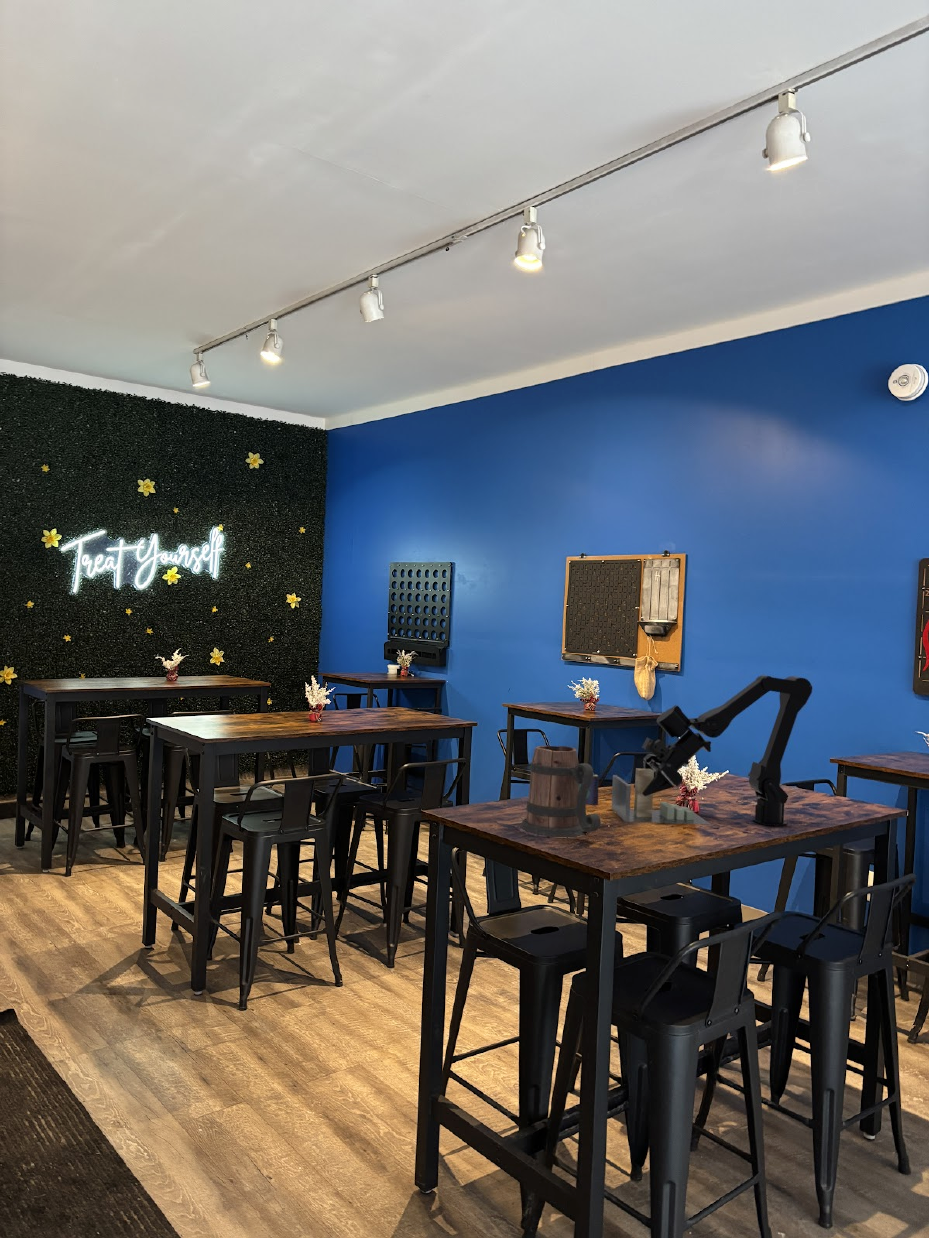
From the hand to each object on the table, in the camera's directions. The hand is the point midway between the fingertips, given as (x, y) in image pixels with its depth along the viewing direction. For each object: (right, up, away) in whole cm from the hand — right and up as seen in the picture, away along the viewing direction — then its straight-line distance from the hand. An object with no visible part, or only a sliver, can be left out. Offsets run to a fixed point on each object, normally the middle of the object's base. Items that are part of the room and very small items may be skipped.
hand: (638, 791), depth 242 cm
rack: (+5, -8, 0) cm, 9 cm away
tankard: (-22, -7, -20) cm, 31 cm away
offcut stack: (+10, -7, +1) cm, 12 cm away
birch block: (+1, -6, 0) cm, 6 cm away
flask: (-13, -7, +14) cm, 21 cm away
